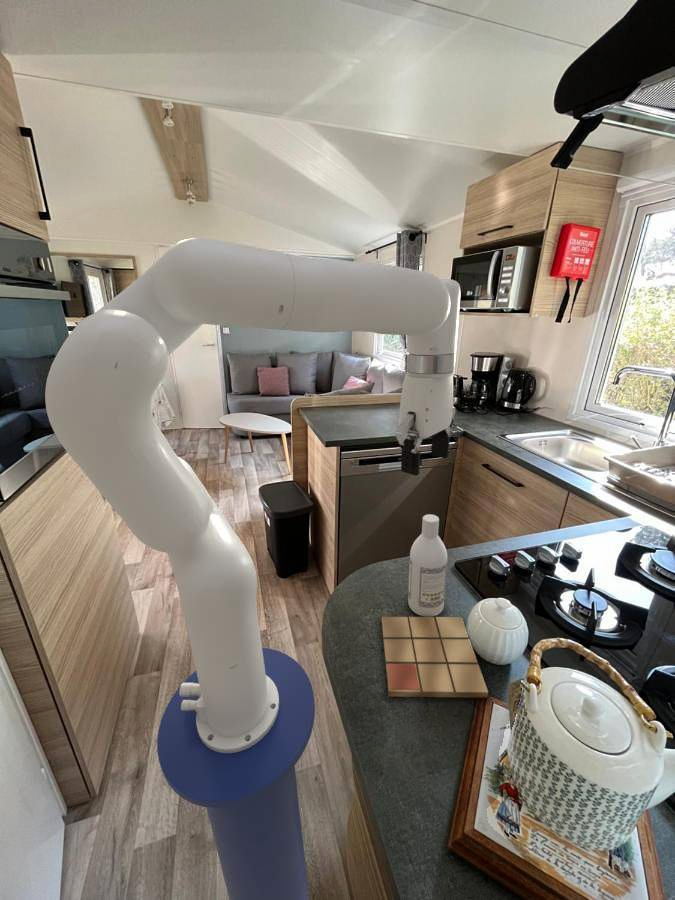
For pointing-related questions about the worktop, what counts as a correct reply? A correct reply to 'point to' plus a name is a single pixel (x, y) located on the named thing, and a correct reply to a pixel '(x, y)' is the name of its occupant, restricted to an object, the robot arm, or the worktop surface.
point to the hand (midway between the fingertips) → (425, 464)
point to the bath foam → (427, 570)
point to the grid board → (430, 658)
